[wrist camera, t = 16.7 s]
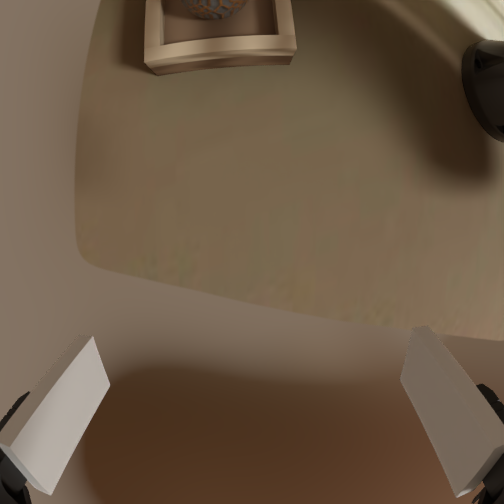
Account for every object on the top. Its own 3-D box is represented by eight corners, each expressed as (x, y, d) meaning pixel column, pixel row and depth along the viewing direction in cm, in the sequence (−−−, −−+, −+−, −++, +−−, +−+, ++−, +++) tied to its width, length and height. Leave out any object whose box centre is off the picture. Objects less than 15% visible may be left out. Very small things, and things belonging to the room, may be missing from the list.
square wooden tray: (277, -31, 25) (281, -53, 20) (289, 64, 29) (296, 48, 24) (159, -20, 25) (149, -41, 20) (157, 76, 28) (144, 62, 24)
